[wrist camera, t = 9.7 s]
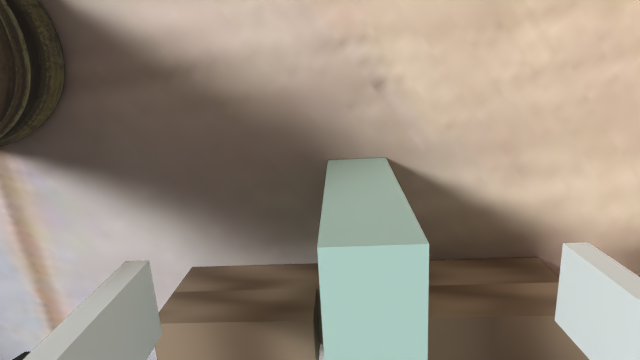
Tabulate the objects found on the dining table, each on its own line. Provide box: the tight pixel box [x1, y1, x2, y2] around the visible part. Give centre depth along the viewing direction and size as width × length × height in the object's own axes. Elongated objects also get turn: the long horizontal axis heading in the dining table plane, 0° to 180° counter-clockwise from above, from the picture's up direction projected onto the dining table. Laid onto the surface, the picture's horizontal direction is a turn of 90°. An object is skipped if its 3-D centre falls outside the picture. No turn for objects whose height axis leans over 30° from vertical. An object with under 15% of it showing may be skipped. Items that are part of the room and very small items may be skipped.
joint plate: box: [317, 158, 429, 360], centre depth 17 cm, size 14×3×10 cm, turn 3°
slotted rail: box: [155, 257, 589, 360], centre depth 19 cm, size 18×3×5 cm, turn 93°
